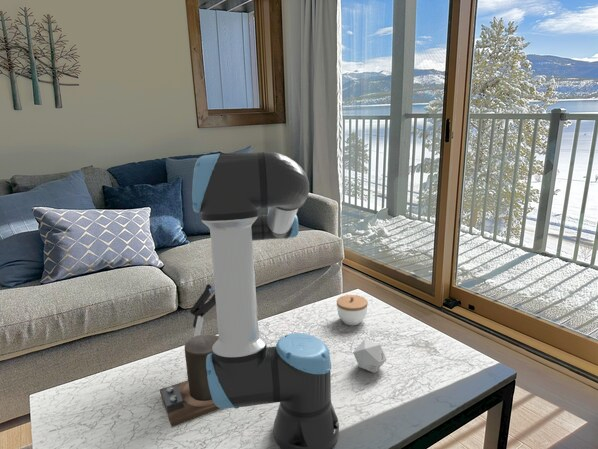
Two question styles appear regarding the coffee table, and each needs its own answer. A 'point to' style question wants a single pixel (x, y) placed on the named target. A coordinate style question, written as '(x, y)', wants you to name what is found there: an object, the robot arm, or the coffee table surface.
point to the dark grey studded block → (172, 399)
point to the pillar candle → (199, 365)
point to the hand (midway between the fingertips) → (218, 341)
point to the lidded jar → (352, 309)
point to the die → (369, 356)
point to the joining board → (189, 406)
